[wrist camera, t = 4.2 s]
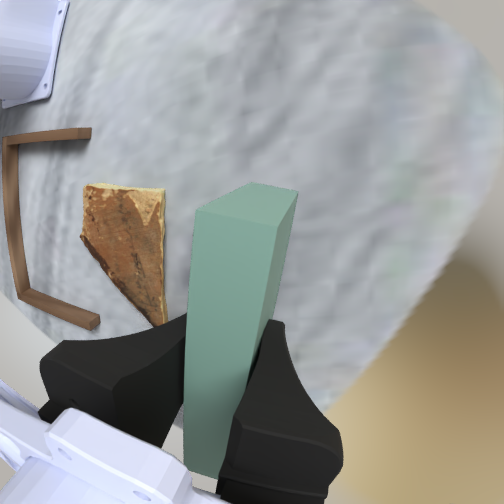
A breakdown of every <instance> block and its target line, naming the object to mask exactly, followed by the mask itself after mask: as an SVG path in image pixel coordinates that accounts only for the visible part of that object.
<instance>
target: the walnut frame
mask: <svg viewBox="0 0 504 504" xmlns="http://www.w3.org/2000/svg"><path fill="white" fill-rule="evenodd" d="M88 138H91V128H69V129H59V130H49V131H41V132H33V133H25V134H18V135H12V136H6V137H3V139H2V184H3V202H4V215H5V225H6V234H7V241H8V248H9V255H10V261H11V267H12V272H13V277H14V282H15V287H16V292H17V296H18V299H20V300H22V301H24V302H26V303H28V304H30V305H32V306H34V307H36V308H38V309H41V310H43V311H45V312H47V313H49V314H52V315H54V316H56V317H58V318H61V319H63V320H65V321H68V322H70V323H73V324H75V325H77V326H80V327H82V328H85V329H87V330H90V331H91V330H92V329H93V328H94V327H96V326H97V325H98V324H99V323H100V317H99V315H98V314H96V313H93V312H90V311H87V310H84V309H82V308H79V307H76V306H74V305H71V304H68V303H66V302H63V301H61V300H58V299H55V298H53V297H50V296H48V295H46V294H43V293H41V292H38V291H36V290H33V289H31V288H30V284H29V279H28V273H27V267H26V261H25V254H24V247H23V239H22V231H21V220H20V208H19V191H18V144H20V143H30V142H41V141H53V140H68V139H88Z"/></svg>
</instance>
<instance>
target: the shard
mask: <svg viewBox="0 0 504 504" xmlns="http://www.w3.org/2000/svg"><path fill="white" fill-rule="evenodd" d="M164 192H165V189H160V188H158V189H156V188H155V189H153V188H132V187H122V186H118V185H111V184H105V183H100V184H99V183H97V184H87V185H85V186H84V188H83V204H84V206H83V208H84V215H83V217H84V219H83V228H82V233H81V235H80V238H81V240H82V241H83V242H84V244H85V246H86V247H87V248H88V250H89V252H90V253H91V255H92V256H93V257H94V258H95V259H96V260H97V261H98V262H99V263H100V266H101V268H102V269H103V270H104V272H105V273H106V274H107V275H108V276H109V278H110V279H111V280H112V282H113V283H114V285H115V286H116V287H117V288H118V289H119V290H120V291H121V293H122V294H124V296H125V297H126V298H127V299H128V300H129V301H130V302H131V303H132V304H133V305H134V306H135V307H136V309H138V310H139V311H140V312H141V313H142V314H143V315H144V316H145V317H146V318H147V320H148V321H149V322H150V323H151V324H152V326H153V327H157V326H159V325H162V324H164V323H166V322H168V315H167V306H166V300H165V294H164V285H163V281H164V274H163V238H164V232H165V228H164V208H165V198H164V195H165V193H164Z"/></svg>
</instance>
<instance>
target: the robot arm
mask: <svg viewBox="0 0 504 504" xmlns="http://www.w3.org/2000/svg"><path fill="white" fill-rule="evenodd" d="M68 4H69V0H60V1H59V0H0V99H2V108H9V107H13V106H16V105H20V104H24V103H28V102H32V101H36V100H40V99H45V98H48V97H49V96H50V94H51V89H52V82H53V75H54V68H55V62H56V57H57V51H58V46H59V41H60V36H61V32H62V27H63V23H64V19H65V15H66V11H67V8H68ZM186 325H187V313H186V314H184V315H182V316H180V317H178V318H176V319H173V320H171V321H169V322H166V323H164V324H162V325H159V326H157V327H154V328H151V329H149V330H145V331H142V332H139V333H135V334H131V335H126V336H121V337H116V338H109V339H100V340H63V341H62V342H61V343H59V344H58V345H57V346H56V347H55V348H53V349H52V350H51V351H50V352H49V353H47V354H46V355H45V356H44V357H43V358H42V359H41V361H40V373H41V377H42V380H43V383H44V385H45V388H46V391H47V394H48V396H49V399H50V400H49V401H48V402H47V403H46V404H45V405H44V406H43V407H42V408H41V409H39V408H37V407H36V406H35V405H33V404H32V403H30V402H29V401H28V400H26V399H25V398H24V397H22V396H21V395H20V394H19V393H17V392H16V391H15V390H13V389H12V388H11V387H10V386H8V385H7V384H6V383H5V382H4V381H2V380H1V379H0V457H1V458H2V459H3V460H4V461H5V462H6V463H7V464H8V465H9V466H10V467H12V468H13V469H14V470H15V471H16V473H15V474H14V476H13V477H12V478H11V479H10V480H9V481H8V482H7V484H6V485H5V486H4V487H3V488H2V490H1V491H0V504H324V499H326V498H327V495H328V487H329V485H330V484H331V483H332V481H333V480H334V479H335V477H336V476H337V475H338V474H339V472H340V471H341V469H342V467H343V447H342V441H341V436H340V432H339V430H338V429H337V428H336V427H335V426H334V425H333V424H332V423H331V422H330V421H329V420H328V419H327V418H326V417H325V416H324V415H323V414H322V413H321V412H320V411H319V409H318V408H317V407H316V406H315V404H314V403H313V401H312V400H311V398H310V397H309V396H308V394H307V393H306V391H305V389H304V387H303V386H302V384H301V382H300V380H299V378H298V376H297V373H296V371H295V369H294V366H293V363H292V361H291V357H290V354H289V351H288V347H287V342H286V337H285V324H284V323H283V322H280V321H276V320H272V319H269V320H268V322H267V324H266V326H265V329H264V332H263V337H262V341H261V346H260V350H259V355H258V359H257V364H256V367H255V369H254V372H253V374H252V377H251V379H250V381H249V384H248V386H247V388H246V390H245V393H244V395H243V397H242V399H241V401H240V403H239V405H238V407H237V409H236V411H235V413H234V415H233V419H232V424H231V429H230V434H229V439H228V444H227V449H226V454H225V458H224V461H223V463H222V466H221V469H220V471H219V474H218V482H217V487H216V492H215V494H214V493H211V492H208V491H204V490H201V489H198V488H195V487H192V477H191V475H190V473H189V471H188V469H187V467H186V465H184V464H183V463H182V462H181V461H180V460H178V459H177V458H176V457H175V456H173V455H172V454H170V453H168V452H166V451H164V450H162V449H161V448H162V446H163V443H164V441H165V439H166V437H167V434H168V432H169V430H170V428H171V426H172V424H173V422H174V419H175V417H176V415H177V413H178V411H179V409H180V407H181V405H182V404H183V402H184V370H185V344H186Z"/></svg>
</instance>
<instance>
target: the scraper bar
mask: <svg viewBox="0 0 504 504" xmlns="http://www.w3.org/2000/svg"><path fill="white" fill-rule="evenodd" d="M297 197H298V191H294V190H289V189H284V188H279V187H274V186H269V185H264V184H258V183H253V182H251V183H249V184H247V185H245V186H243V187H241V188H238V189H236V190H234V191H232V192H230V193H228V194H226V195H224V196H222V197H220V198H218V199H216V200H214V201H212V202H210V203H208V204H206V205H204V206H203V207H201V208H199V209H197V210H196V213H195V222H194V232H193V243H192V254H191V266H190V279H189V292H188V308H187V325H186V344H185V370H184V418H183V432H184V433H183V438H184V439H183V441H184V442H183V443H184V444H183V447H184V448H183V449H184V465H186V467H187V469H188V470H189V471H192V472H195V473H199V474H201V475H205V476H208V477H211V478H214V479H217V480H218V474H219V471H220V469H221V466H222V463H223V461H224V458H225V454H226V449H227V444H228V439H229V434H230V429H231V424H232V419H233V415H234V413H235V411H236V409H237V407H238V405H239V403H240V401H241V399H242V397H243V395H244V393H245V390H246V388H247V386H248V384H249V381H250V379H251V377H252V374H253V372H254V369H255V367H256V364H257V359H258V355H259V350H260V346H261V341H262V337H263V332H264V329H265V326H266V324H267V322H268V320H269V319H272V318H273V313H274V309H275V304H276V299H277V295H278V290H279V286H280V281H281V276H282V271H283V267H284V262H285V257H286V252H287V247H288V242H289V237H290V232H291V227H292V222H293V217H294V212H295V207H296V202H297Z"/></svg>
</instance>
